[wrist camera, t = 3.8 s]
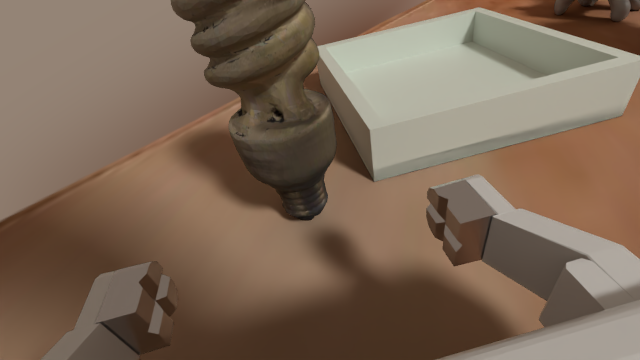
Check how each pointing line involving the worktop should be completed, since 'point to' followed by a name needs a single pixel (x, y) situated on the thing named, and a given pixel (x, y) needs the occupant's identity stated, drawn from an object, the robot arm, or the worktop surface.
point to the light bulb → (269, 92)
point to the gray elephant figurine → (619, 3)
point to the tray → (468, 87)
